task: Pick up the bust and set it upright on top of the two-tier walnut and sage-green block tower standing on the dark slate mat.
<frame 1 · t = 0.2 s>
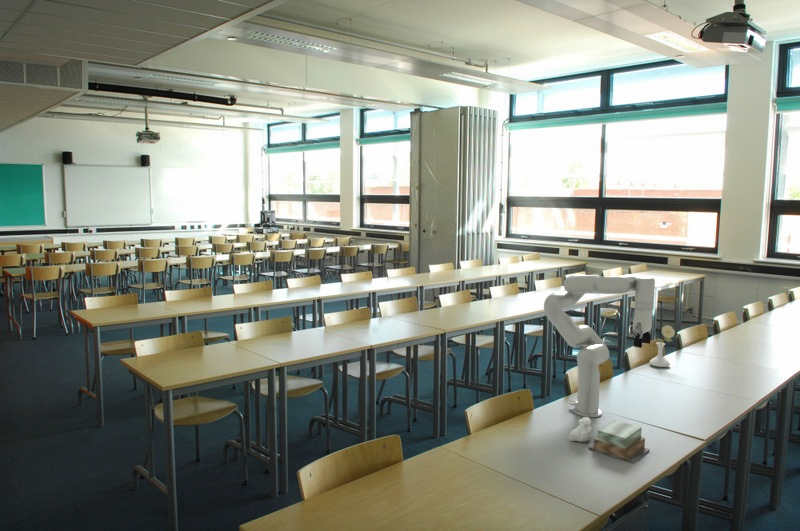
hand: (642, 345, 250), 37 cm above the table, tool pointing down, fingers open, 9 cm apart
bust: (581, 441, 240), on the table
block tower: (618, 450, 230), on the table
flower in vase: (661, 366, 348), on the table
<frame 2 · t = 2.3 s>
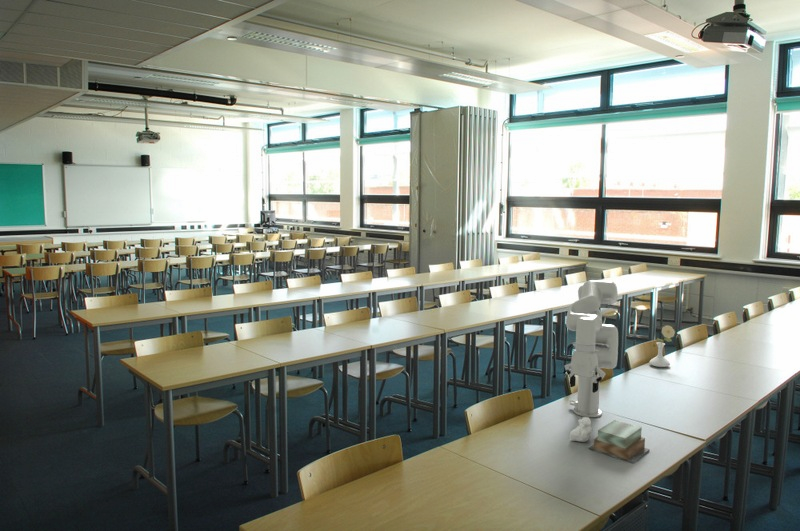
hand: (583, 389, 237), 22 cm above the table, tool pointing down, fingers open, 9 cm apart
nothing on the table moved.
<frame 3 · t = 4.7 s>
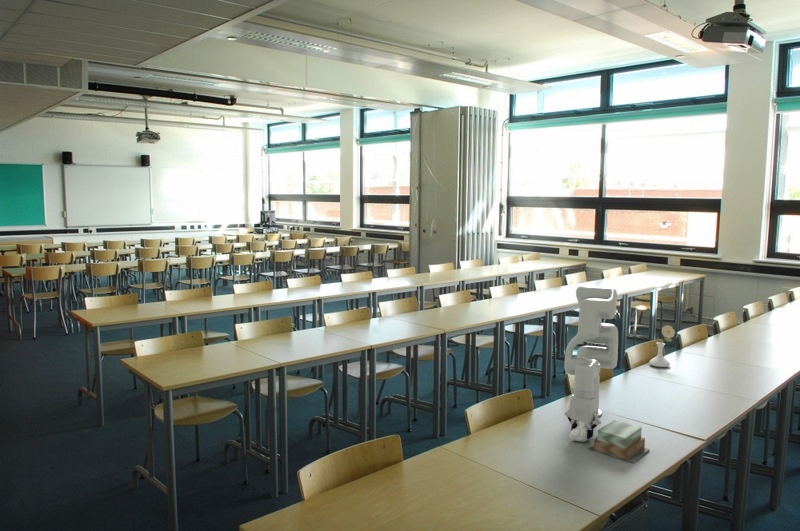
hand: (581, 435, 240), 2 cm above the table, tool pointing down, fingers closed on bust, 6 cm apart
bust: (581, 440, 240), on the table, touching gripper
everything else where it was.
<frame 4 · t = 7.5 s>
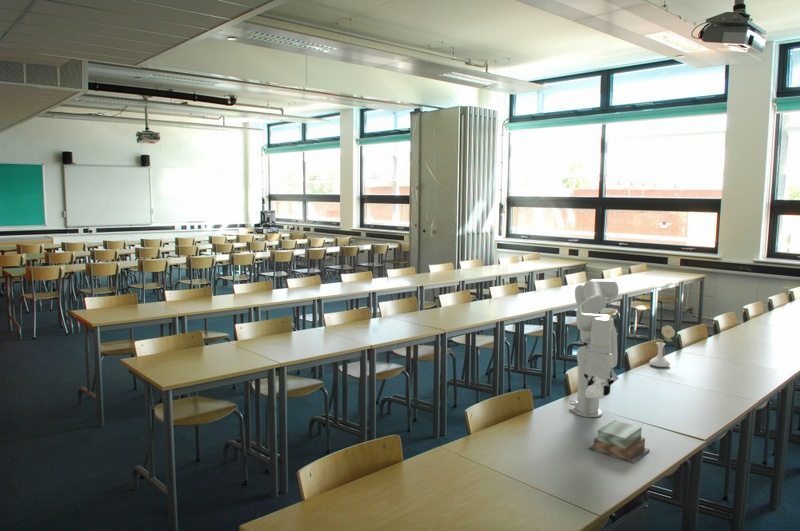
hand: (598, 392, 233), 22 cm above the table, tool pointing down, fingers closed on bust, 6 cm apart
bust: (598, 398, 234), point 19 cm above the table, touching gripper
everything else where it was.
when the fingers open (12 cm above the table, at t = 10.3 s): bust stays where it is, resting on block tower.
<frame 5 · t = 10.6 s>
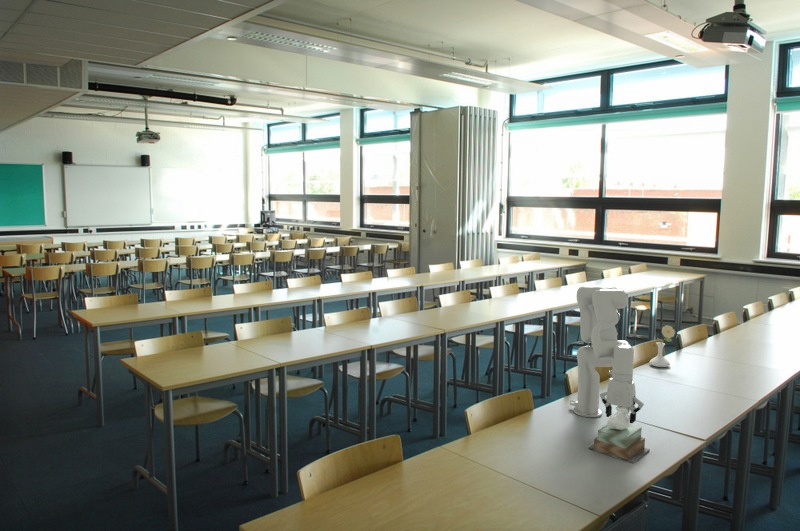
hand: (620, 419, 229), 13 cm above the table, tool pointing down, fingers open, 9 cm apart
bust: (619, 429, 230), point 9 cm above the table, touching block tower
everything else where it was.
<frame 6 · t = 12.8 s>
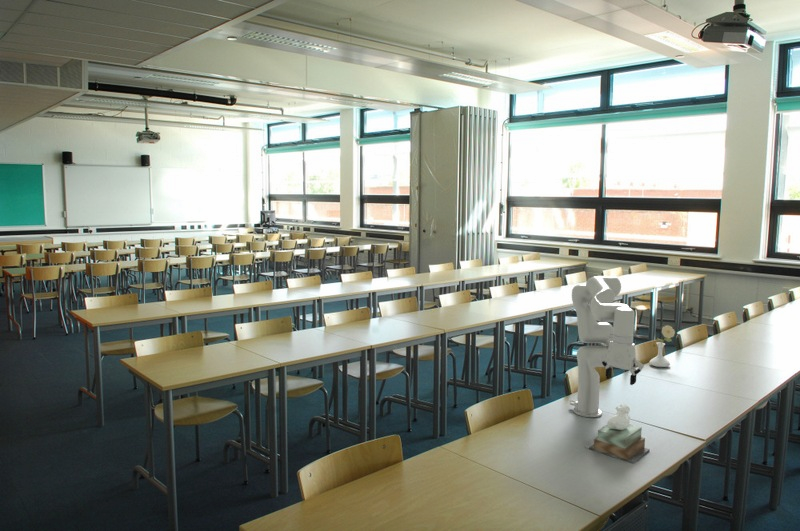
hand: (620, 381, 231), 27 cm above the table, tool pointing down, fingers open, 9 cm apart
nothing on the table moved.
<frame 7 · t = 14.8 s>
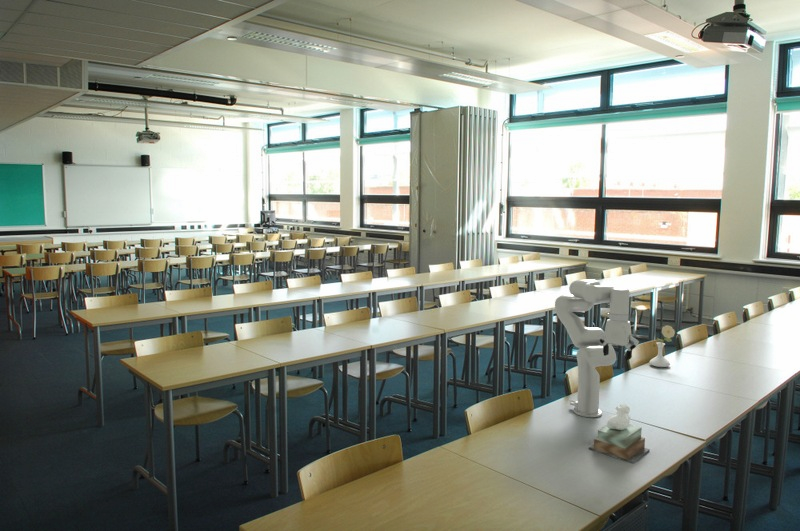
hand: (617, 357, 246), 32 cm above the table, tool pointing down, fingers open, 9 cm apart
nothing on the table moved.
at the end: bust inside the target area on the block tower (0.2 cm from its centre), point 8.6 cm above the block tower's base; bust tilted 1°; the gripper is holding nothing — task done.
